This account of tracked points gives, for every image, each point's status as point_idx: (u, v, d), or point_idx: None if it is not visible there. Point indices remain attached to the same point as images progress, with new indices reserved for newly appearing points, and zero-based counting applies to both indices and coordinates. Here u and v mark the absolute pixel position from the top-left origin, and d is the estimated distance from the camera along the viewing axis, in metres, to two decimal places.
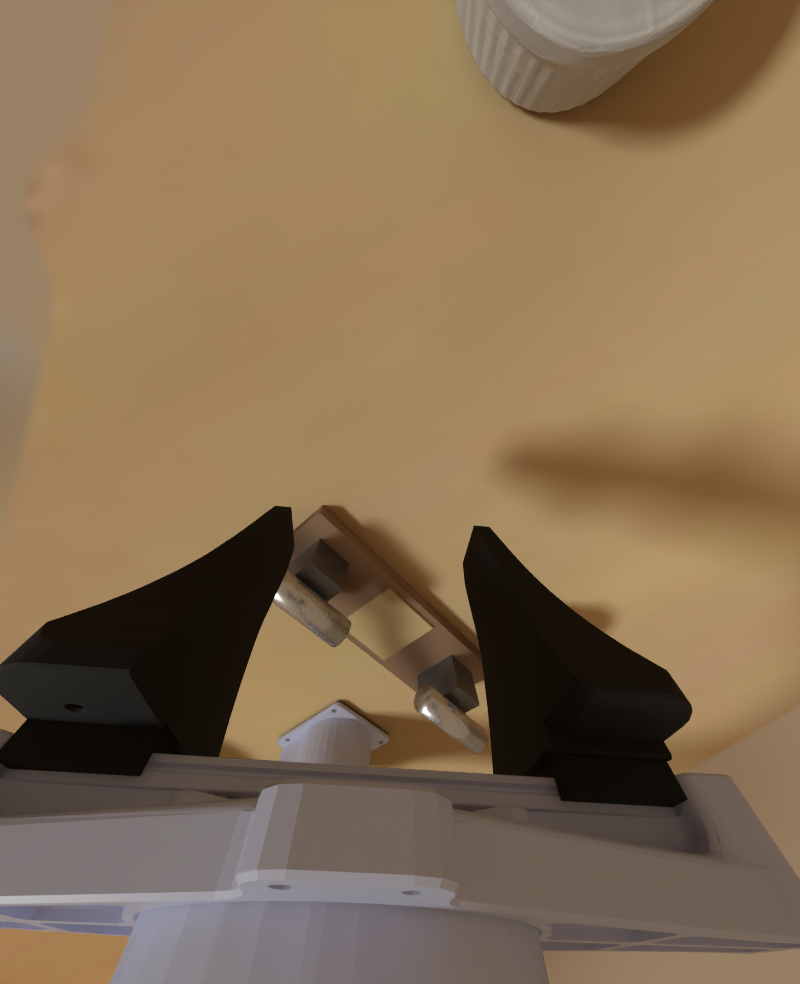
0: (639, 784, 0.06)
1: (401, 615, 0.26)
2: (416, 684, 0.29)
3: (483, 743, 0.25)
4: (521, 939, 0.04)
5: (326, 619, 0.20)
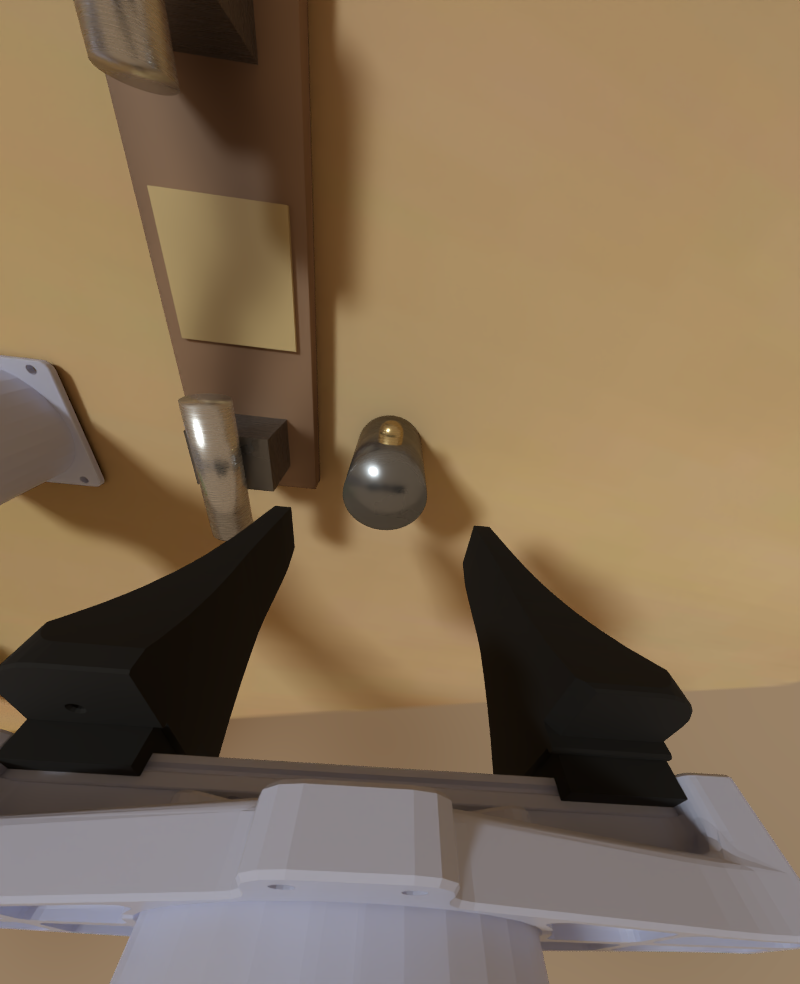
0: (639, 784, 0.06)
1: (268, 281, 0.14)
2: None
3: None
4: (521, 939, 0.04)
5: None
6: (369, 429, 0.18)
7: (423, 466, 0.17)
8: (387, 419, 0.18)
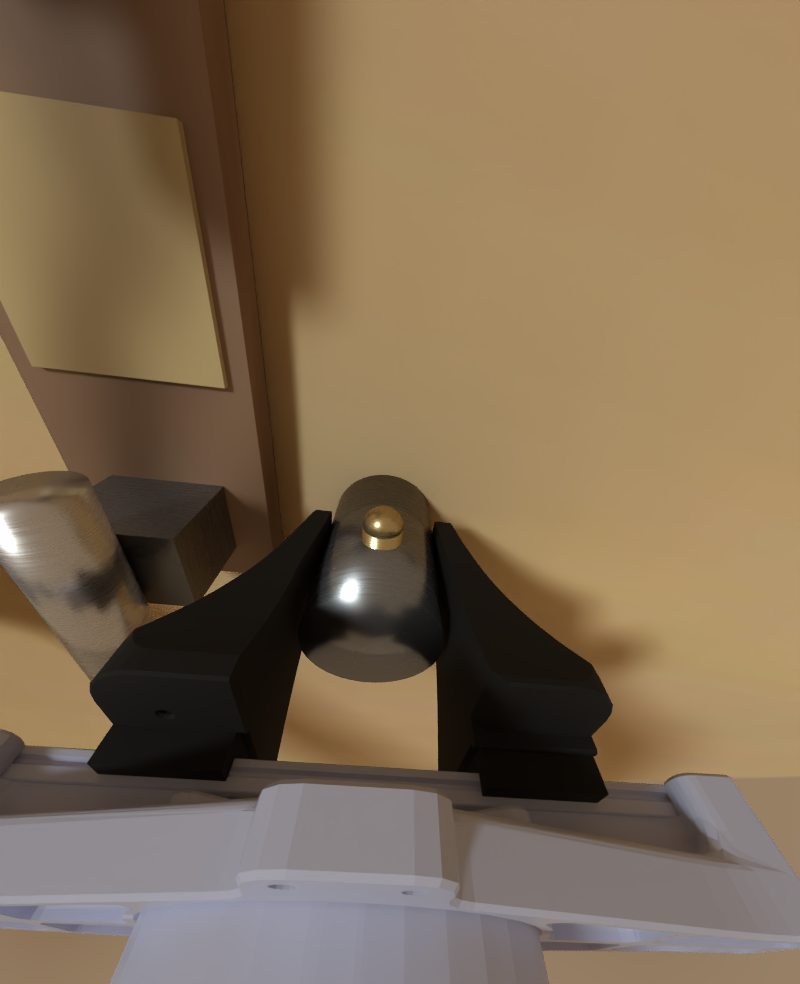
0: (561, 779, 0.06)
1: (162, 269, 0.08)
2: None
3: None
4: (521, 939, 0.04)
5: None
6: (350, 502, 0.12)
7: (435, 571, 0.10)
8: (379, 484, 0.12)
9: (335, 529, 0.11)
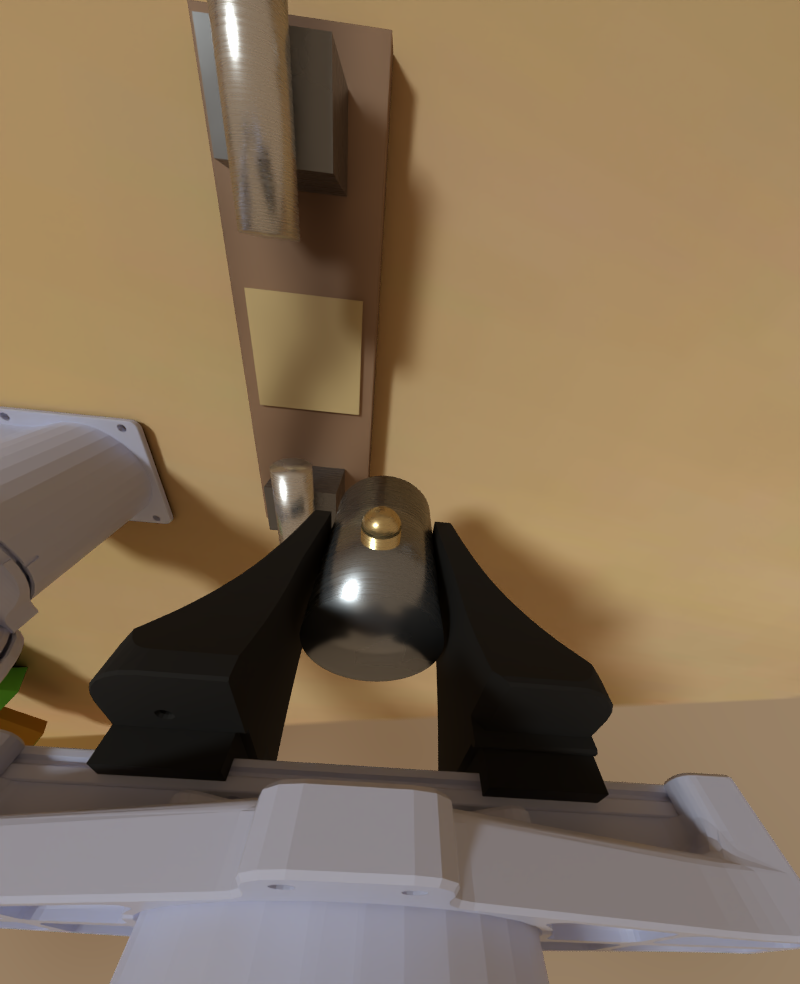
0: (561, 779, 0.06)
1: (340, 359, 0.17)
2: None
3: None
4: (521, 939, 0.04)
5: (279, 155, 0.09)
6: (350, 503, 0.12)
7: (435, 570, 0.10)
8: (378, 484, 0.12)
9: (335, 531, 0.11)
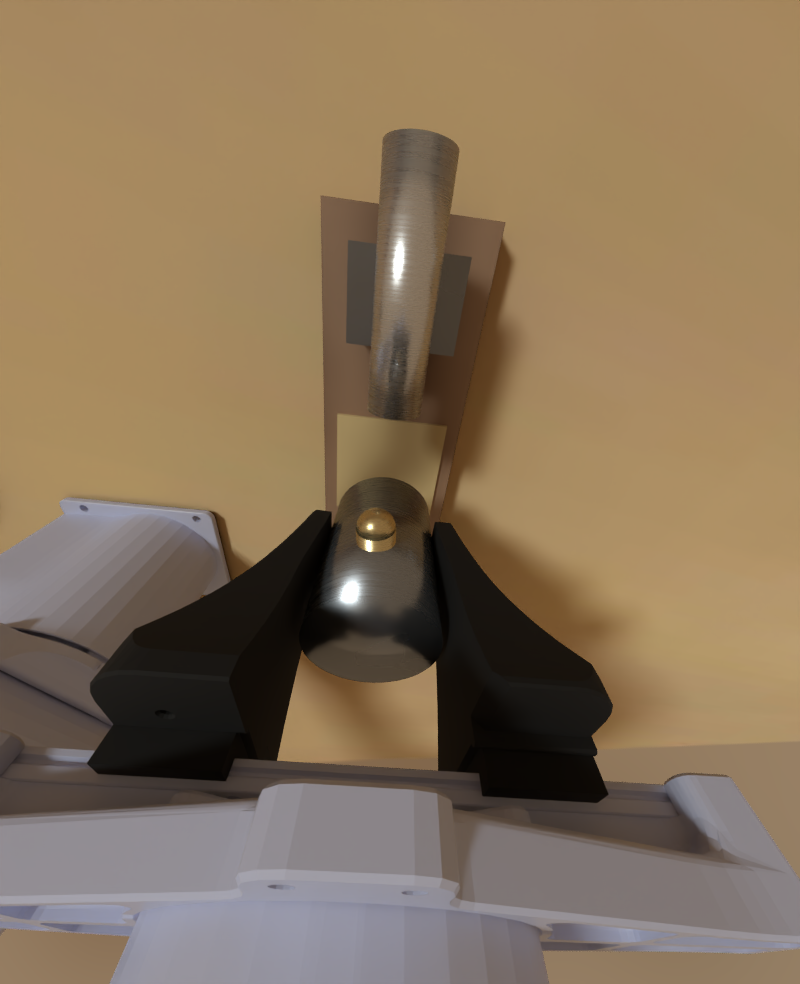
0: (561, 779, 0.06)
1: (419, 471, 0.17)
2: None
3: None
4: (521, 939, 0.04)
5: (421, 364, 0.10)
6: (347, 506, 0.12)
7: (433, 569, 0.10)
8: (374, 486, 0.12)
9: (332, 534, 0.11)
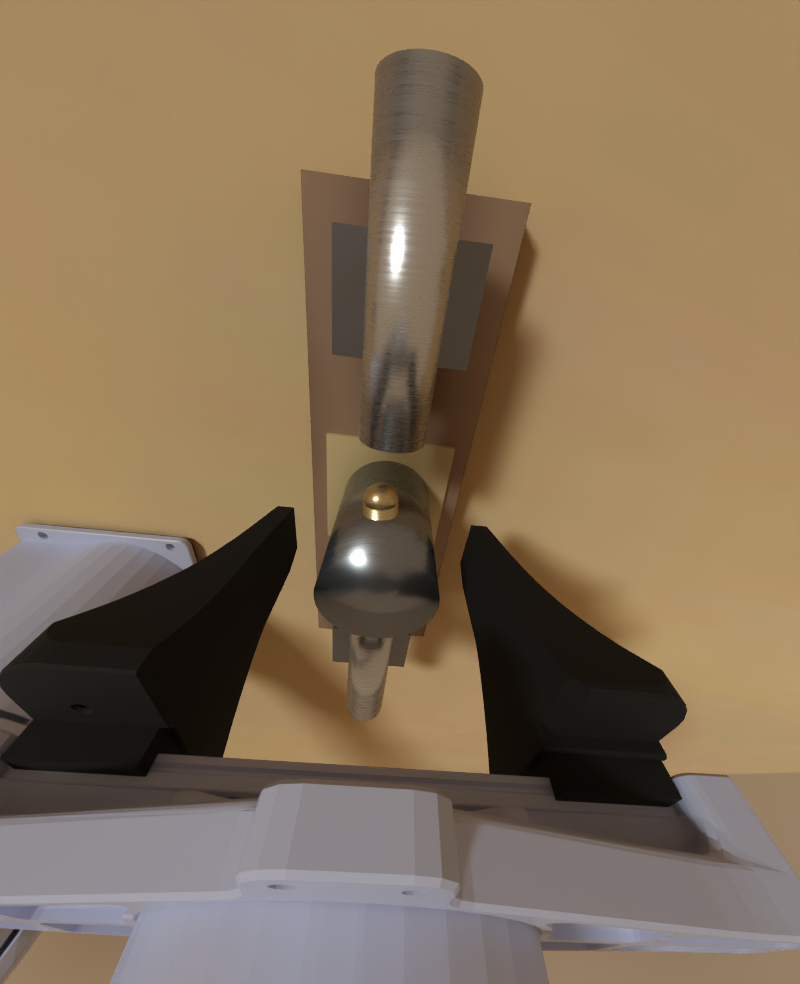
0: (634, 784, 0.06)
1: None
2: None
3: (376, 712, 0.17)
4: (521, 939, 0.04)
5: (427, 383, 0.08)
6: (354, 485, 0.13)
7: (431, 539, 0.12)
8: (378, 468, 0.14)
9: (341, 509, 0.12)
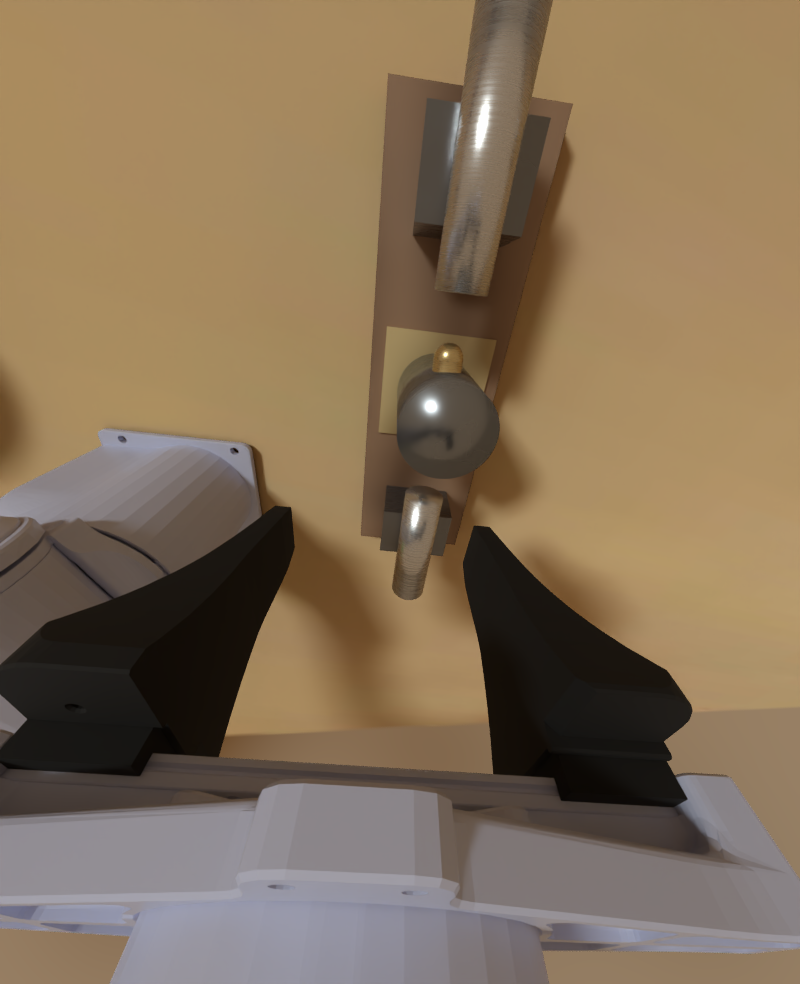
0: (639, 784, 0.06)
1: None
2: (373, 495, 0.21)
3: (419, 592, 0.19)
4: (521, 939, 0.04)
5: (498, 228, 0.10)
6: (413, 367, 0.15)
7: None
8: (432, 356, 0.16)
9: (407, 380, 0.14)
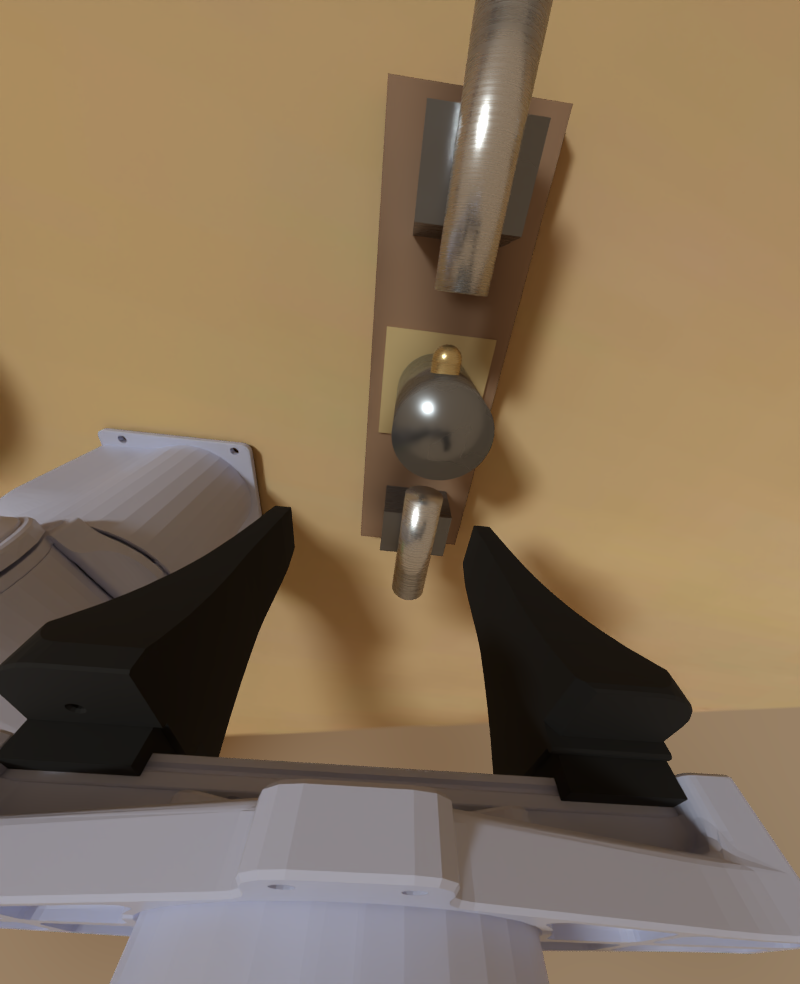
0: (639, 784, 0.06)
1: None
2: (373, 495, 0.21)
3: (419, 592, 0.19)
4: (521, 939, 0.04)
5: (498, 228, 0.10)
6: (413, 367, 0.15)
7: None
8: None
9: (405, 380, 0.14)
